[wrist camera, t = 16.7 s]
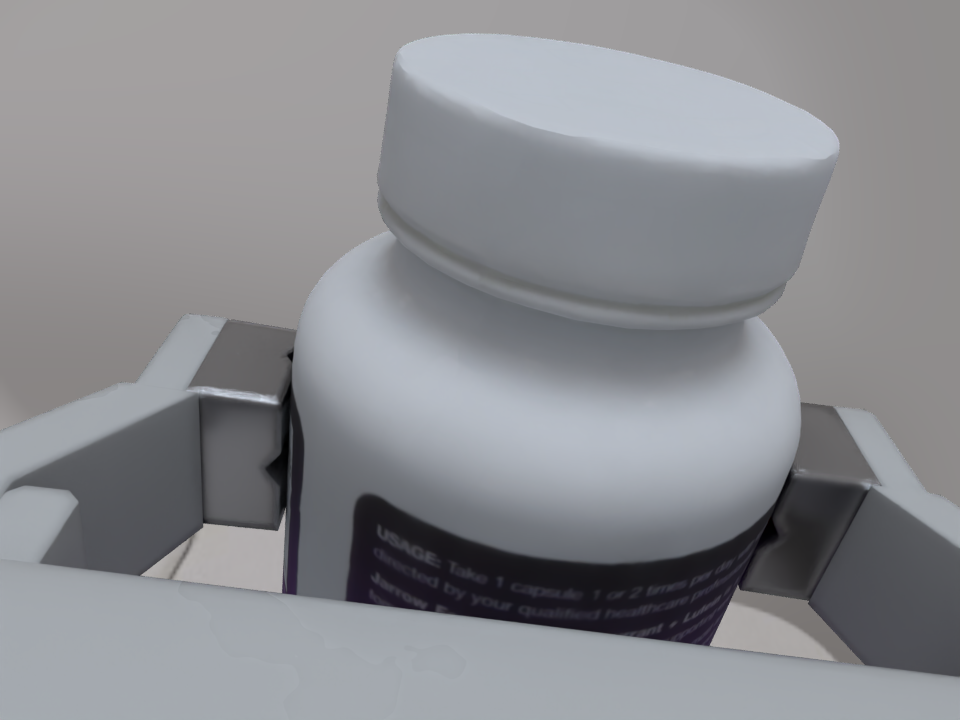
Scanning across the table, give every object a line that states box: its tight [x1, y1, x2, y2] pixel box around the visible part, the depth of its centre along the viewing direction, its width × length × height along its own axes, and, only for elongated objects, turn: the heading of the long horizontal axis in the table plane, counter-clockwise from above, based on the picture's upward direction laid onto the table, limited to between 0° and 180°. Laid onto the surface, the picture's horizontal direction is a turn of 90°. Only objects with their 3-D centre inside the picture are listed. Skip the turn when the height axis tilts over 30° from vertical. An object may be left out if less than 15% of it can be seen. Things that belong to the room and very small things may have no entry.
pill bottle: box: [282, 34, 840, 646], centre depth 10 cm, size 5×5×10 cm
